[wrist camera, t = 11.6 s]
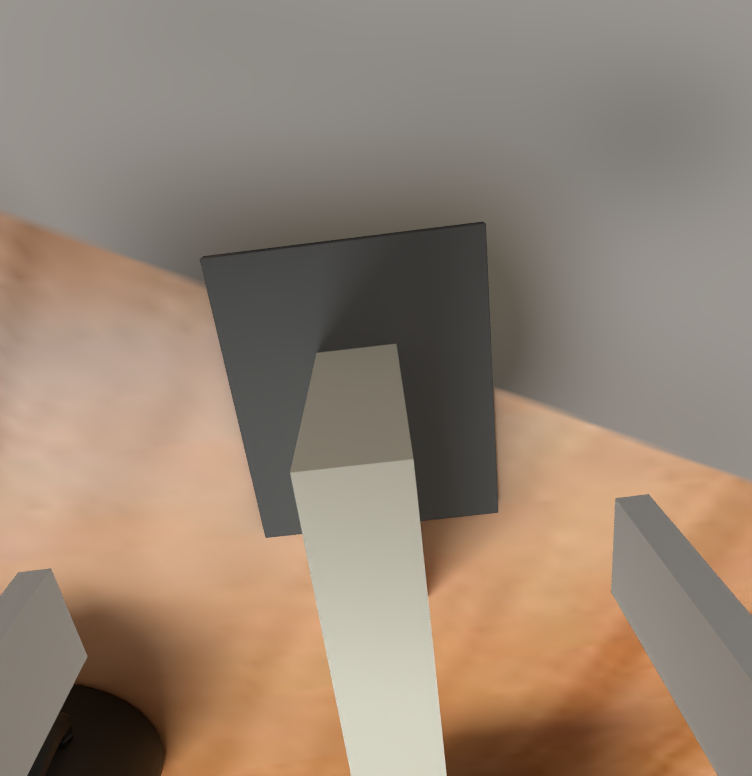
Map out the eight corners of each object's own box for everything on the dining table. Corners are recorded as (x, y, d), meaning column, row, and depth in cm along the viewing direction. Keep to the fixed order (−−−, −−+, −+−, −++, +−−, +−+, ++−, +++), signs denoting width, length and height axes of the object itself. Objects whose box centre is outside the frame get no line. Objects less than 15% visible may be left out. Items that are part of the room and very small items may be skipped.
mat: (267, 530, 26) (265, 537, 25) (203, 256, 21) (199, 259, 21) (496, 505, 26) (498, 512, 25) (483, 221, 21) (485, 223, 20)
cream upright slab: (360, 616, 27) (357, 811, 19) (316, 352, 22) (289, 472, 14) (425, 610, 27) (450, 802, 19) (396, 343, 22) (414, 459, 14)
